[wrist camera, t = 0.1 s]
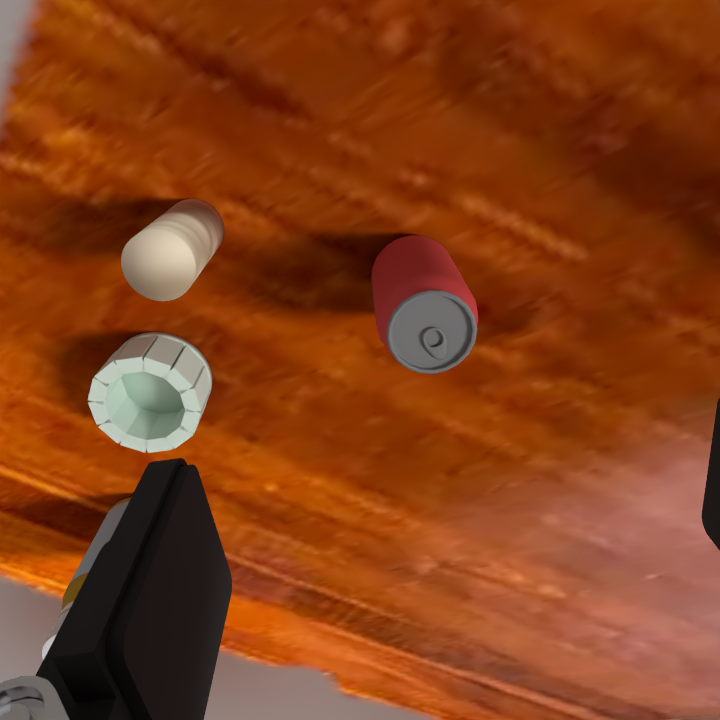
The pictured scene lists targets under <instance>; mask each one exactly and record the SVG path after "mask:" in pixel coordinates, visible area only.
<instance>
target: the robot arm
mask: <svg viewBox="0 0 720 720" xmlns="http://www.w3.org/2000/svg"><path fill="white" fill-rule="evenodd" d="M702 522H703V526H704V529H705V531H706V533H707V534H708V536H709V537H710V539H711V540H712V541H713V542H714V544H715V545H716V546H717V548H718V549H719V550H720V398H719V400H718V403H717V410H716V417H715V424H714V431H713V438H712V445H711V452H710V459H709V467H708V474H707V481H706V488H705V495H704V502H703V509H702ZM231 592H232V579H231V573H230V569H229V566H228V563H227V560H226V557H225V554H224V551H223V548H222V544H221V541H220V538H219V535H218V532H217V529H216V526H215V523H214V519H213V516H212V513H211V510H210V507H209V504H208V501H207V497H206V494H205V491H204V488H203V485H202V482H201V479H200V476H199V472H198V470H197V468H196V466H195V465H187V463H186V462H185V460H184V459H182V458H178V459H170V460H163V461H155V462H151V463H149V464H148V466H147V468H146V469H145V471H144V473H143V475H142V477H141V479H140V481H139V483H138V485H137V487H136V489H135V491H134V493H133V495H132V497H131V499H130V501H129V503H128V505H127V507H126V509H125V511H124V513H123V515H122V517H121V519H120V521H119V523H118V525H117V527H116V529H115V531H114V533H113V535H112V537H111V539H110V541H109V542H107V543H105V544H104V546H103V547H102V548H101V550H100V551H99V553H98V555H97V557H96V559H95V561H94V563H93V565H92V567H91V569H90V571H89V573H88V575H87V577H86V579H85V581H84V583H83V584H82V586H81V588H80V590H79V592H78V594H77V596H76V598H75V600H74V602H73V604H72V606H71V608H70V610H69V612H68V614H67V616H66V617H65V619H64V621H63V623H62V625H61V627H60V629H59V631H58V633H57V635H56V637H55V639H54V641H53V643H52V645H51V647H50V649H49V650H48V652H47V654H46V656H45V658H44V660H43V662H42V664H41V666H40V668H39V670H38V672H37V674H36V676H21V677H18V678H15V679H11V680H8V681H5V682H2V683H0V720H204V715H205V711H206V706H207V701H208V697H209V692H210V688H211V684H212V679H213V674H214V670H215V665H216V660H217V656H218V652H219V647H220V643H221V638H222V634H223V629H224V624H225V620H226V615H227V611H228V606H229V602H230V597H231ZM666 720H720V714H714V715H705V716H695V717H685V718H676V719H666Z"/></svg>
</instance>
